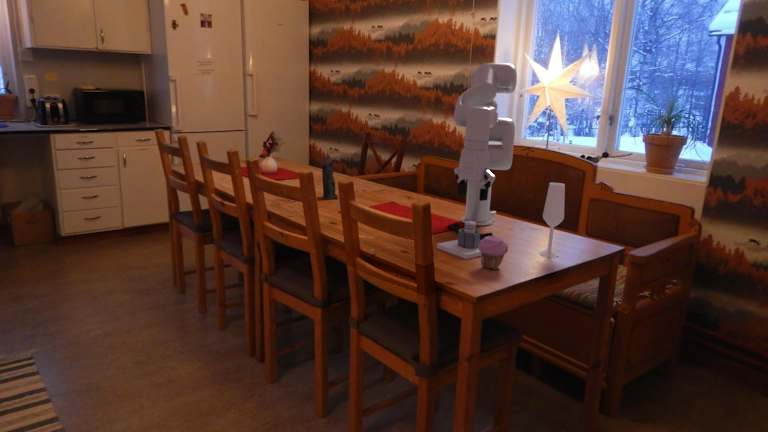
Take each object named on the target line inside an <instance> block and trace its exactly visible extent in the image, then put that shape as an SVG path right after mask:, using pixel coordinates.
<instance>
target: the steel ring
mask: <svg viewBox="0 0 768 432" xmlns="http://www.w3.org/2000/svg"><path fill="white" fill-rule="evenodd" d="M481 234H482V232H481V230H480V229H479V230H478V229H476V228H475V233H465V232H464V228H463V227H462V229H459V233H458V237H457V240H458V246H459V247H462V248H468V249H475V248H478V245H479V242H480V235H481Z"/></svg>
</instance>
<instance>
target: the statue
mask: <svg viewBox="0 0 768 432" xmlns="http://www.w3.org/2000/svg"><path fill="white" fill-rule="evenodd" d="M333 161H334V159H333V157H332V156H330V155H329V156H326V157H324V160H323V161H322V167H321V168H322V169H321V170H322V171H321V172H322V177H321V178H322V187H323V188H322V192H323V193H322V198H323V197H324V198H323V199H326V198H327V199H332V200H336V199H335V198H337V197H338V196H339V195H338V194H336V191H337V188H336V181H335V180H336V178H335V177H334V171H333V170H334V162H333ZM327 199H326V200H327Z"/></svg>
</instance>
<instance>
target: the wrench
mask: <svg viewBox="0 0 768 432" xmlns="http://www.w3.org/2000/svg"><path fill="white" fill-rule="evenodd" d="M447 228H448V229H449V230H451V231H454V232H456V233H458V234H459V229H463V227H461V224H460V223H459V222H455V223H449V224H448V225H447ZM487 236H494V234H493V233H492V232H486V233H481V235H480V241H481V240H482V239H484V238H485V237H487Z"/></svg>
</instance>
